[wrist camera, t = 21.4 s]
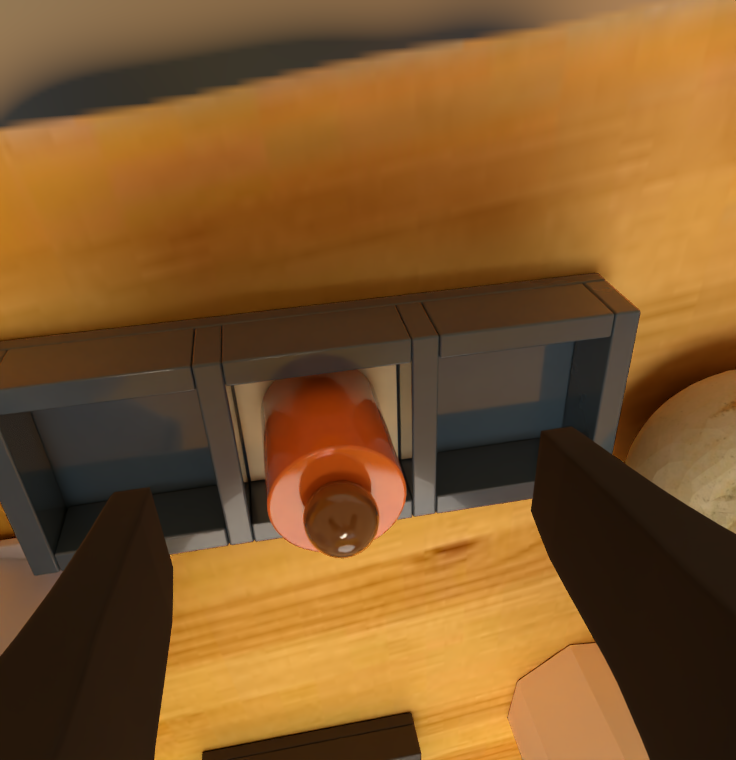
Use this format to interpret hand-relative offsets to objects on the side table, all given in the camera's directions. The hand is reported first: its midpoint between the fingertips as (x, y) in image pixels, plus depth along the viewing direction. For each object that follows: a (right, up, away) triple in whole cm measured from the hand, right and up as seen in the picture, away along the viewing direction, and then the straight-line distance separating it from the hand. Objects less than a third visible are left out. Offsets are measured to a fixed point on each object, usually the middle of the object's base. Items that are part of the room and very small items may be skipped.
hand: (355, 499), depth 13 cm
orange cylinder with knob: (-1, +1, +9) cm, 9 cm away
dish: (-1, +2, +10) cm, 10 cm away
